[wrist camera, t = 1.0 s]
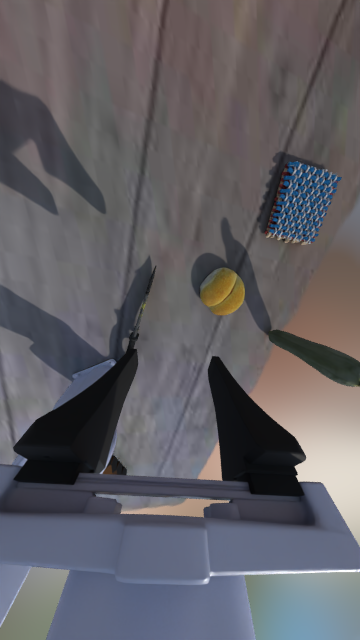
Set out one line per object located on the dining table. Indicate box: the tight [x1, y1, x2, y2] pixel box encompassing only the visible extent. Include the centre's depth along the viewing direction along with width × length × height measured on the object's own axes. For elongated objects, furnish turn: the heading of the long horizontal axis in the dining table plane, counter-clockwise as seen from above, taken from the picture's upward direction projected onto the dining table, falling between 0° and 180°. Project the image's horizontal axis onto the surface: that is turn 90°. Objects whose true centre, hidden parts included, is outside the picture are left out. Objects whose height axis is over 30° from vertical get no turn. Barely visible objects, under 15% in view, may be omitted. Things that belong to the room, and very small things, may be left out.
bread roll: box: [200, 268, 245, 315], centre depth 25 cm, size 8×9×4 cm
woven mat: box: [265, 161, 342, 245], centre depth 22 cm, size 10×11×2 cm
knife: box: [126, 266, 156, 352], centre depth 25 cm, size 23×2×5 cm, turn 158°
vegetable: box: [269, 330, 360, 387], centre depth 23 cm, size 4×4×20 cm
